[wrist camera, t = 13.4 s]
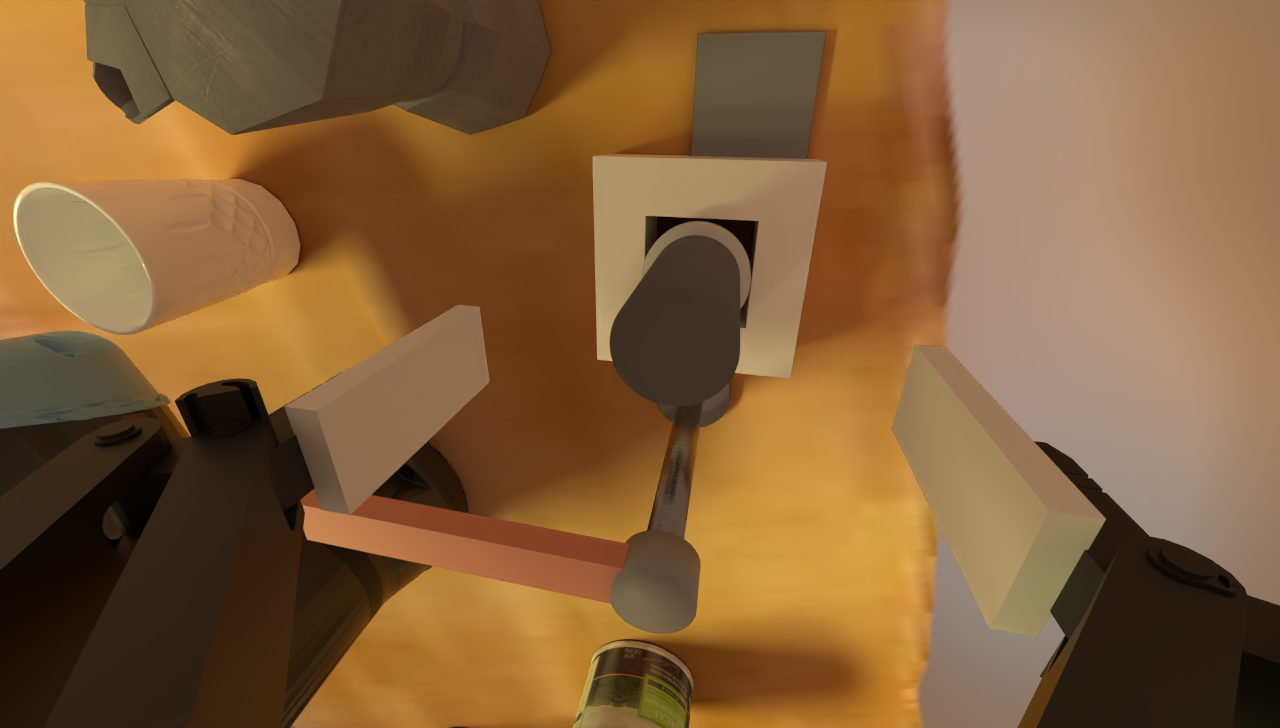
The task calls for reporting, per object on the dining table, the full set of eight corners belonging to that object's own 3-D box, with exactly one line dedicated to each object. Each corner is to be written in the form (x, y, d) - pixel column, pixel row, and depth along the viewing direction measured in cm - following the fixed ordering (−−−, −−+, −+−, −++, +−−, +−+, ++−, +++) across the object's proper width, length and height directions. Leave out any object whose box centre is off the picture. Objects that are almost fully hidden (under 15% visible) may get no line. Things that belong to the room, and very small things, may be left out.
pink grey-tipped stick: (704, 538, 18) (700, 581, 17) (695, 595, 20) (691, 641, 18) (322, 467, 21) (282, 498, 19) (338, 523, 22) (302, 556, 20)
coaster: (803, 168, 25) (804, 169, 25) (691, 165, 26) (690, 165, 26) (824, 33, 23) (825, 31, 22) (698, 35, 24) (697, 33, 23)
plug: (743, 303, 29) (746, 426, 17) (656, 297, 30) (597, 409, 18) (754, 211, 27) (766, 275, 14) (659, 207, 28) (593, 263, 15)
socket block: (784, 349, 30) (790, 378, 26) (613, 334, 32) (597, 359, 28) (815, 158, 25) (827, 162, 22) (611, 153, 27) (592, 155, 23)
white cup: (190, 166, 32) (-18, 177, 23) (291, 173, 31) (113, 187, 22) (229, 280, 36) (60, 327, 27) (322, 290, 35) (177, 342, 26)
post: (726, 425, 33) (717, 609, 20) (655, 417, 34) (602, 589, 21) (734, 359, 31) (729, 519, 18) (657, 352, 32) (600, 500, 19)
